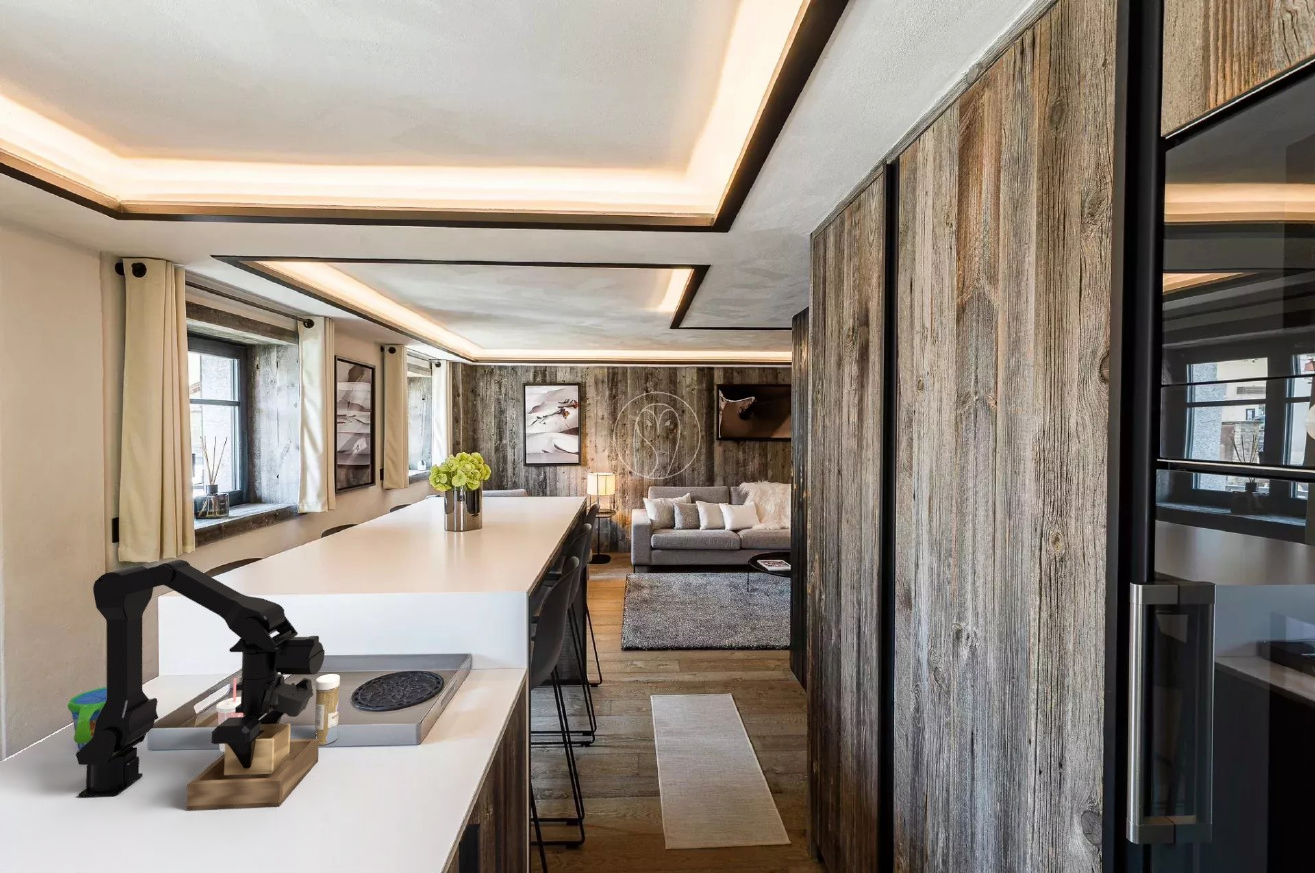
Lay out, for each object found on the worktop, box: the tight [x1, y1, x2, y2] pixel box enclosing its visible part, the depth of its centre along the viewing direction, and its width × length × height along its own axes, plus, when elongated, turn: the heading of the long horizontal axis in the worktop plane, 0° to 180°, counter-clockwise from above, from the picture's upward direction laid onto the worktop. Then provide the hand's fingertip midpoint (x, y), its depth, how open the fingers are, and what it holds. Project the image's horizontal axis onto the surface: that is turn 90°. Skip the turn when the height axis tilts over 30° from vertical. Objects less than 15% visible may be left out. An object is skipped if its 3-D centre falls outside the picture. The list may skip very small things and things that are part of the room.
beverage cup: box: [216, 677, 243, 752], centre depth 125 cm, size 6×6×14 cm
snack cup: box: [67, 686, 107, 750], centre depth 125 cm, size 16×10×10 cm
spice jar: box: [314, 673, 341, 746], centre depth 128 cm, size 5×5×14 cm
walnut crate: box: [186, 738, 320, 812], centre depth 111 cm, size 15×15×4 cm
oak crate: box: [224, 723, 291, 775], centre depth 112 cm, size 8×6×6 cm
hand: (257, 758), depth 112 cm, fingers closed on oak crate, 6 cm apart
